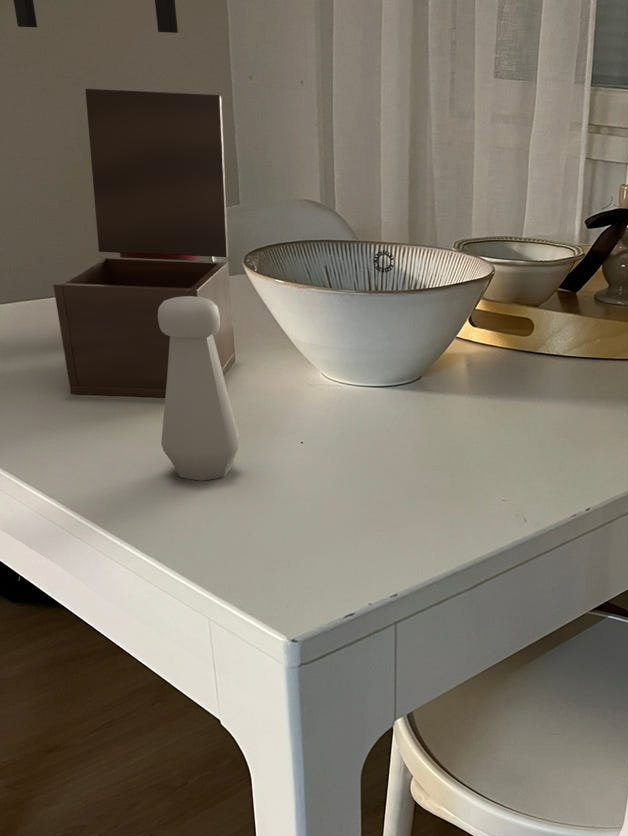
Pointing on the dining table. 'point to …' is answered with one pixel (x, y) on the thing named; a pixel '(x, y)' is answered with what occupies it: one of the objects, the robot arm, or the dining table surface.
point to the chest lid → (158, 172)
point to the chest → (133, 321)
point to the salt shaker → (196, 392)
